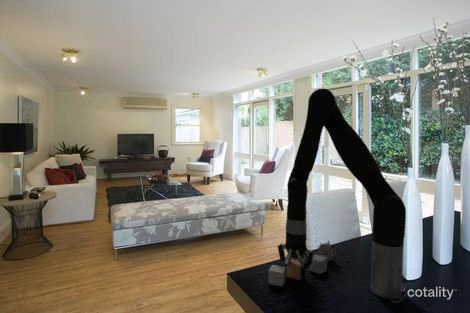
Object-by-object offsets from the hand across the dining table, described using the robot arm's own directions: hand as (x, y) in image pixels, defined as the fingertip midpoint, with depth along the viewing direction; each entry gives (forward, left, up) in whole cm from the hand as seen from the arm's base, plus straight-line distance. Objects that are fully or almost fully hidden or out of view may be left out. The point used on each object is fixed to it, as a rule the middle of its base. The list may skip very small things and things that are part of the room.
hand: (295, 274), depth 110 cm
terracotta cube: (0, 0, 0) cm, 0 cm away
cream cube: (+4, +8, -1) cm, 9 cm away
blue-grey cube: (-6, -9, -1) cm, 11 cm away
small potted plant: (-7, -19, -1) cm, 20 cm away
